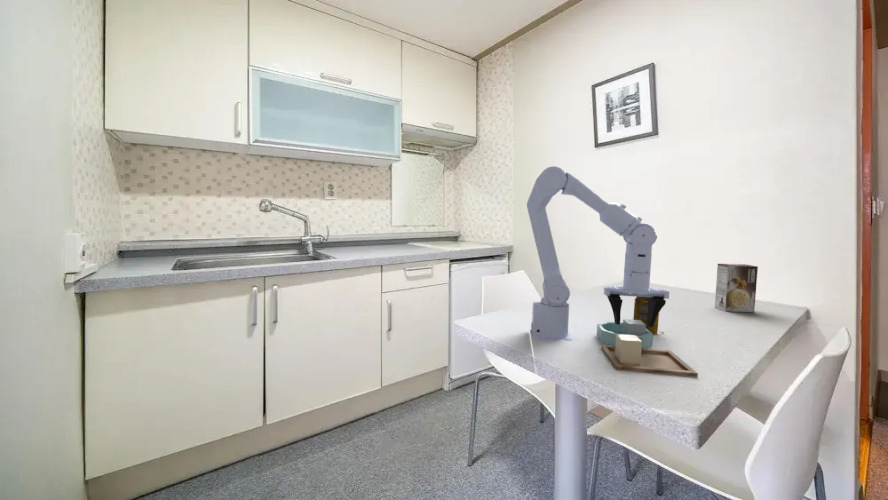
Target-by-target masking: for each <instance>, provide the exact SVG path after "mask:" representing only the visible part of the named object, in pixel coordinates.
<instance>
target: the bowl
mask: <svg viewBox="0 0 888 500" xmlns="http://www.w3.org/2000/svg"><path fill="white" fill-rule="evenodd" d="M596 325H597V328H596V336H597V338H598V339H599V341H600V342H601V343H604V344H607V345H608V346H615V344H616V334H622V332H623V321H622V322H621V321H620V325H618V324H616V323H615V321H605V322H601V323H597V324H596ZM653 335H654V334H653V333H651V332H650V331H649V330H648V329H646V331H645V334H644V335H641V336H637V337H638V338H639V339H640V340H641V341H642V348H644V349H648V348H650V347H653V339H654V336H653Z"/></svg>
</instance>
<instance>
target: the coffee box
mask: <svg viewBox="0 0 888 500" xmlns="http://www.w3.org/2000/svg"><path fill="white" fill-rule="evenodd" d="M716 268H717V271H716V286H715V296H714V307H715V308H717V309H719V310H722V311H724V312H736V313H737V312H739V313H755V305H756V296H757V295H756V293H757V282H758V270H759V267H758V265H753V264H752V265H751V264H746V263H745V264H743V263H717V267H716Z"/></svg>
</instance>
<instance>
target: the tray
mask: <svg viewBox="0 0 888 500" xmlns="http://www.w3.org/2000/svg"><path fill="white" fill-rule="evenodd" d="M600 349H601V350H602V352H603V353H604V355H605V357H607V359H608V361H609V362H610V364H611V366H612V367H613V368H614V370H616V371H626V372H627V371H628V372H638V373H648V374H649V373H650V374H660V375H671V376H672V375H673V376H679V377H680V376H682V377H692V378H693V377H694V378H698V377H699V373H698V372H697V371H696V370H695V369H693V368H692V367H691V366H690V365H689V364H688V363H687V362H685V361H684V360H682V359H681V358H680V357H679V356H678V355H677V354H675V353H674V352H673V351H671V350H670V349H668V350H667V349H655V348H653V349H652V348H645V349H644V348H641V363H640V364H633V363H621V362H620V361H619V360H618V359H617V357H616V356H615V346H612V345H605V344H604V345H602V344H601V345H600Z"/></svg>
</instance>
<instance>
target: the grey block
mask: <svg viewBox="0 0 888 500" xmlns="http://www.w3.org/2000/svg"><path fill="white" fill-rule="evenodd" d="M622 322H623V332H622V334H625V335H636V336H641V335H644V334H645V331H646V324H644V323H643V322H642V321H641V320H633V319H629V318H627V319H626V318H623V320H622Z"/></svg>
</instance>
